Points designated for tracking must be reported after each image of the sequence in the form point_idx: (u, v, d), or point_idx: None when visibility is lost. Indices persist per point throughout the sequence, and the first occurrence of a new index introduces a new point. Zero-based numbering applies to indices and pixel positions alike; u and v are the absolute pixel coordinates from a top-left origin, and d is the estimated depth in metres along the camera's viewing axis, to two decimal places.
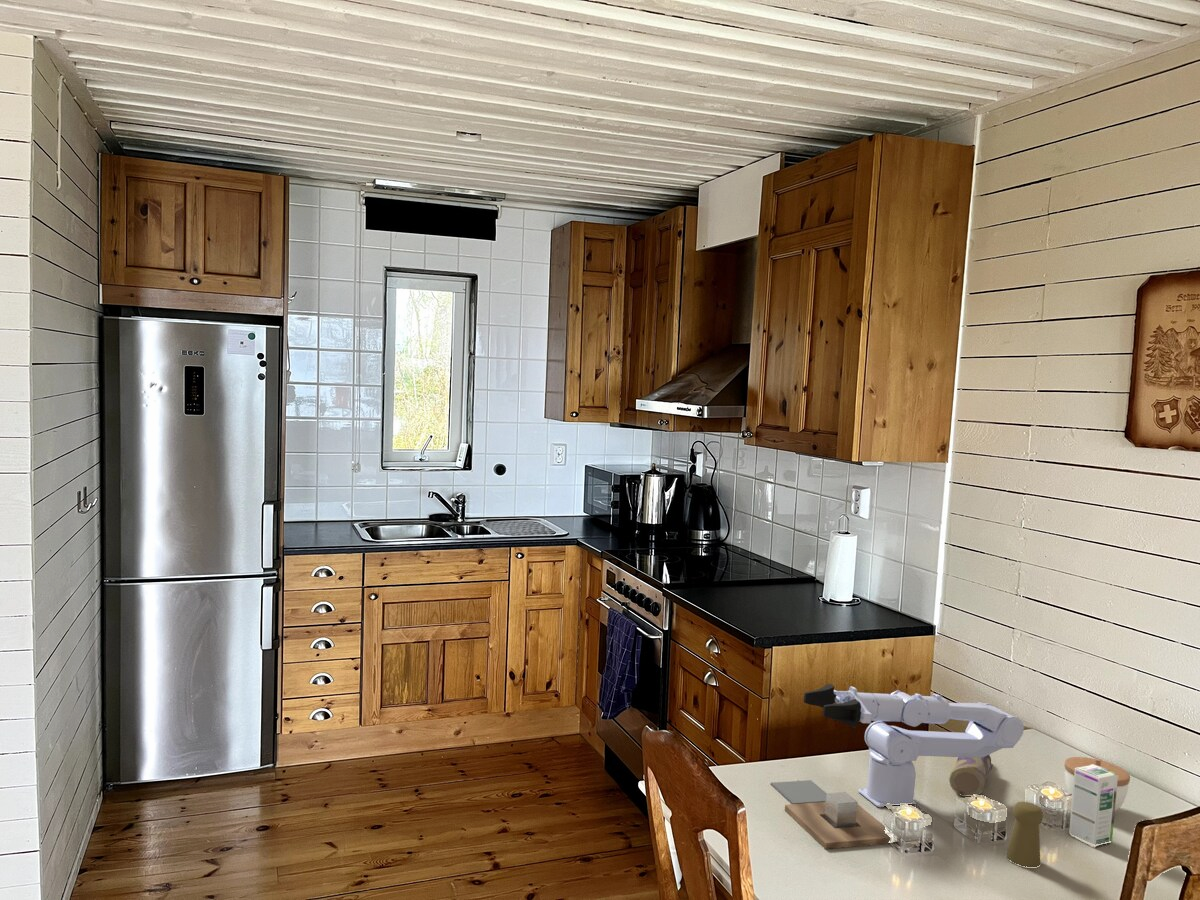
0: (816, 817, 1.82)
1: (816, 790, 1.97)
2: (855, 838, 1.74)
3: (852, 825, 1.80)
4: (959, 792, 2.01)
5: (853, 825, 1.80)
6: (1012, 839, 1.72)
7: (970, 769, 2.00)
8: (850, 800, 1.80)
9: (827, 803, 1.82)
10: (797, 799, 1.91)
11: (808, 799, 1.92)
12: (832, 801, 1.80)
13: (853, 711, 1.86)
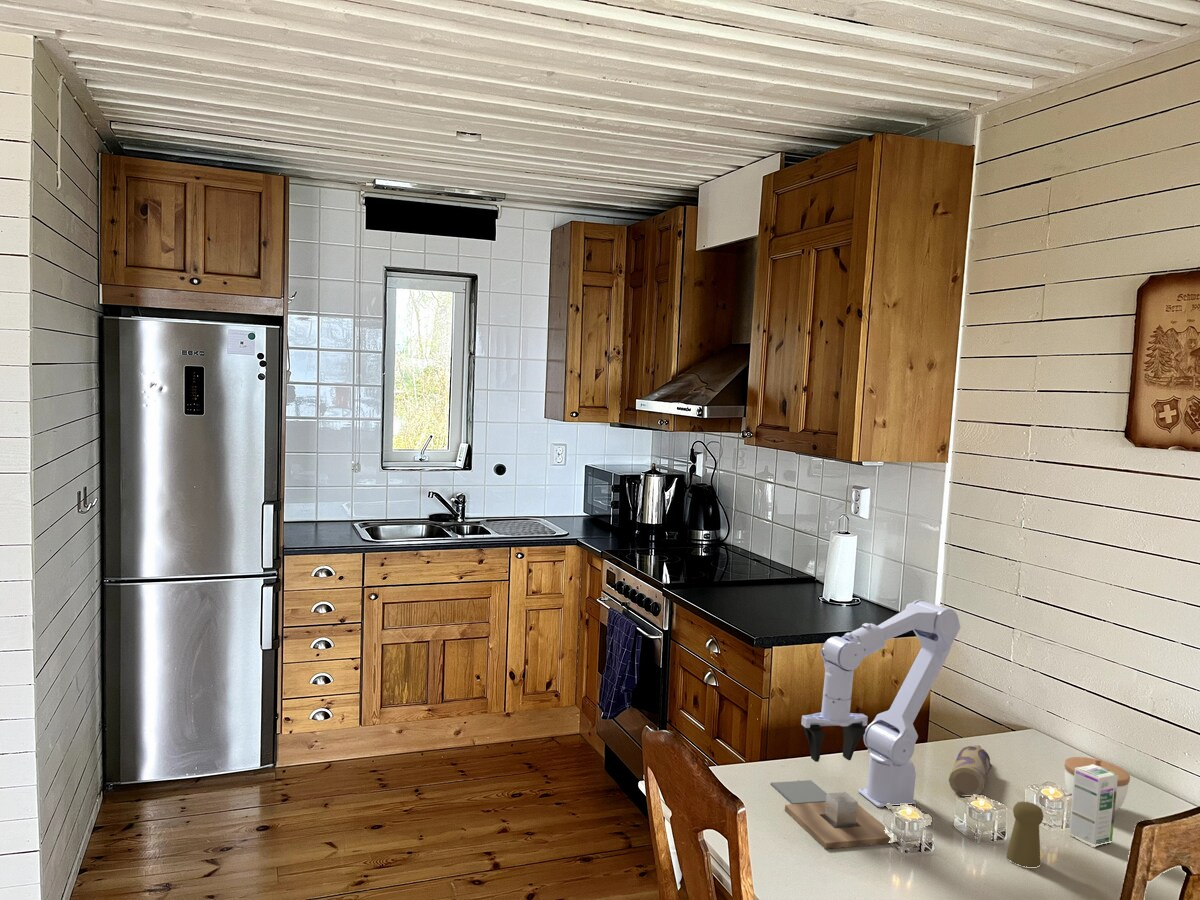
0: (816, 817, 1.82)
1: (816, 790, 1.97)
2: (855, 838, 1.74)
3: (852, 825, 1.80)
4: (958, 792, 2.00)
5: (853, 825, 1.80)
6: (1012, 839, 1.72)
7: (970, 769, 2.00)
8: (850, 800, 1.80)
9: (827, 803, 1.82)
10: (797, 799, 1.91)
11: (808, 799, 1.92)
12: (832, 801, 1.80)
13: None
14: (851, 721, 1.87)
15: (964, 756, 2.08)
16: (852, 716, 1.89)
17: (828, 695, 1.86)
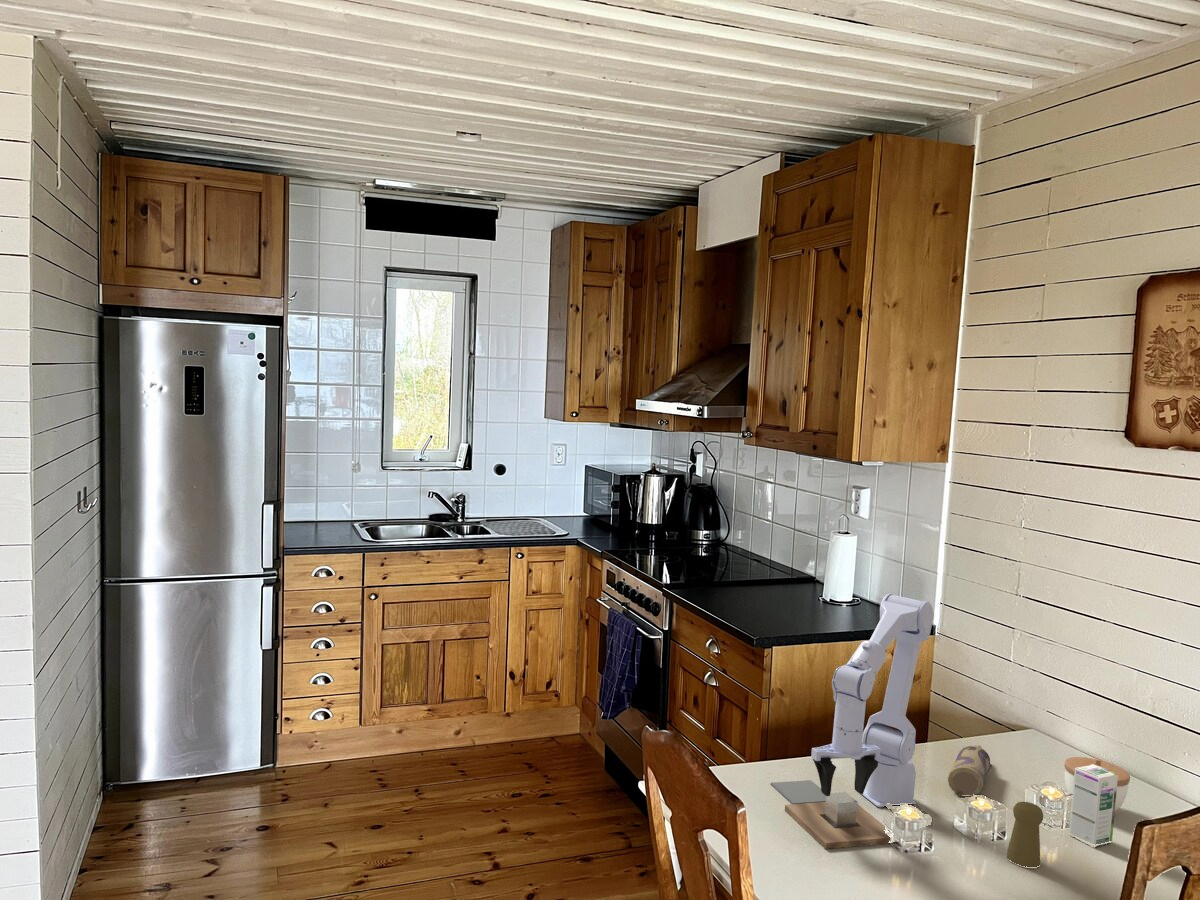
0: (816, 817, 1.82)
1: (816, 790, 1.97)
2: (855, 838, 1.74)
3: (852, 825, 1.80)
4: (957, 792, 2.01)
5: (853, 825, 1.80)
6: (1012, 839, 1.72)
7: (969, 769, 2.00)
8: (850, 800, 1.80)
9: (827, 803, 1.82)
10: (797, 799, 1.91)
11: (808, 799, 1.92)
12: (832, 801, 1.80)
13: None
14: (863, 753, 1.79)
15: (964, 756, 2.08)
16: (864, 748, 1.81)
17: (844, 728, 1.77)
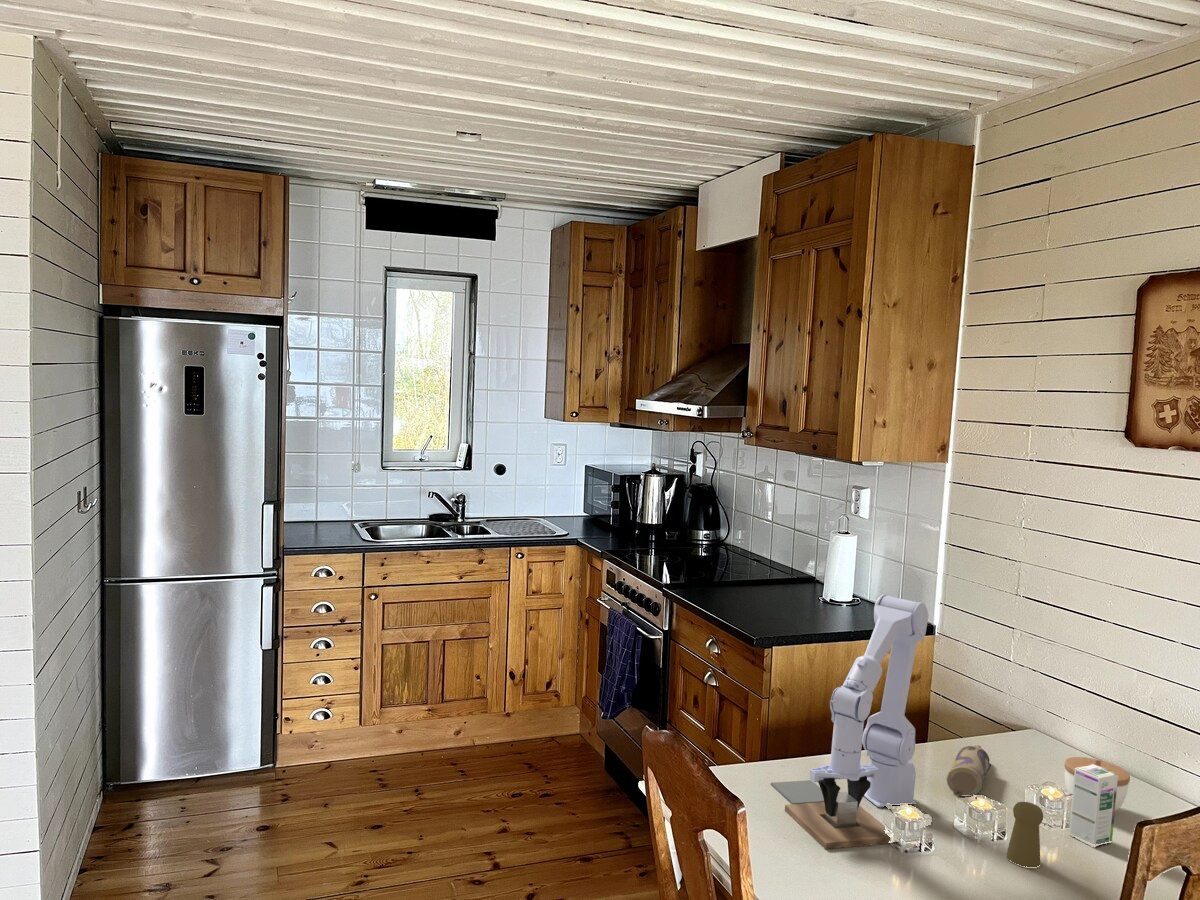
0: (816, 817, 1.82)
1: (816, 790, 1.97)
2: (855, 838, 1.74)
3: (852, 825, 1.79)
4: (956, 792, 2.01)
5: (853, 825, 1.80)
6: (1012, 839, 1.72)
7: (967, 769, 2.00)
8: (851, 799, 1.80)
9: None
10: (797, 799, 1.91)
11: (808, 799, 1.92)
12: None
13: None
14: (861, 774, 1.79)
15: (963, 756, 2.08)
16: (862, 768, 1.82)
17: (843, 749, 1.78)
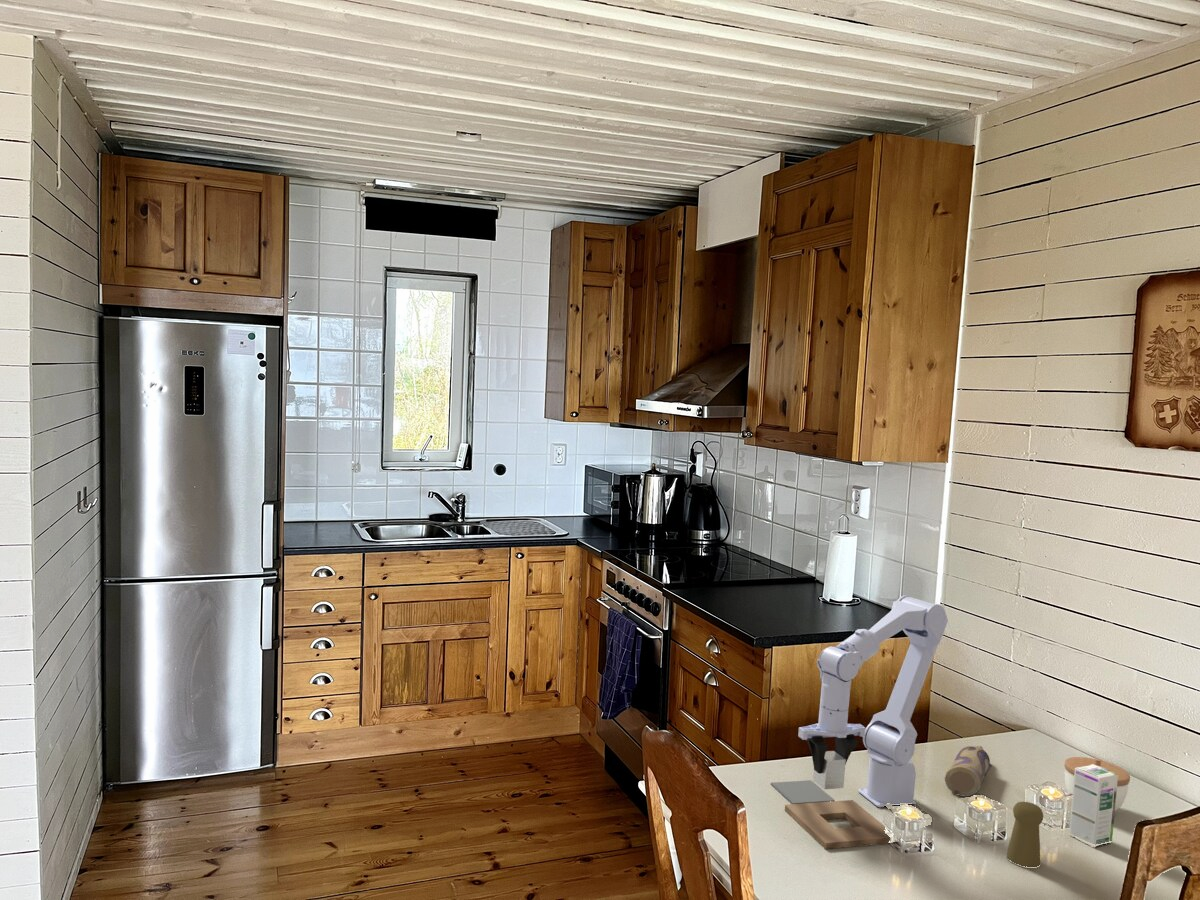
0: (816, 817, 1.82)
1: (816, 790, 1.97)
2: (855, 838, 1.74)
3: (840, 782, 1.84)
4: (954, 791, 2.01)
5: (841, 782, 1.84)
6: (1012, 839, 1.72)
7: (965, 769, 2.00)
8: (839, 757, 1.85)
9: None
10: (797, 799, 1.91)
11: (808, 799, 1.92)
12: None
13: None
14: (849, 732, 1.84)
15: (962, 756, 2.08)
16: (849, 727, 1.87)
17: (826, 707, 1.83)
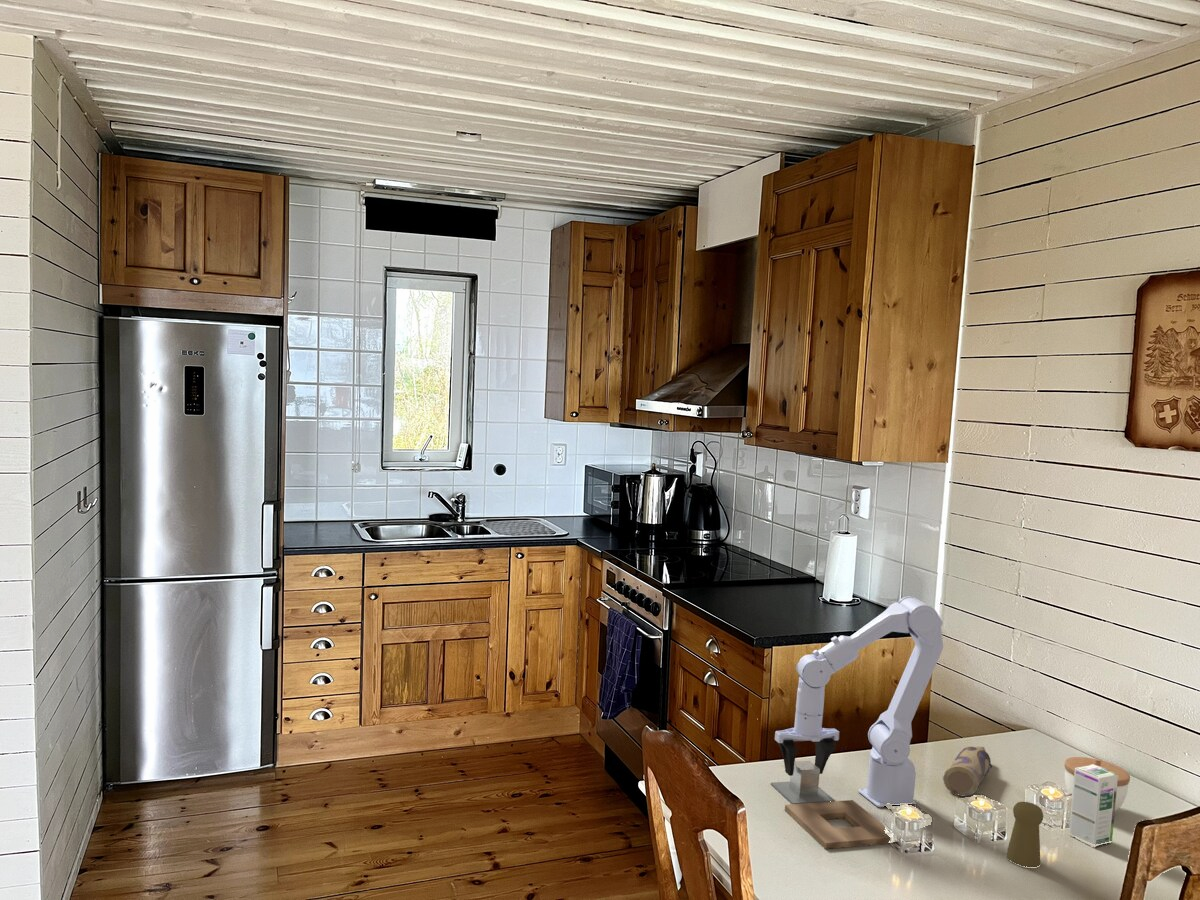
0: (816, 817, 1.82)
1: None
2: (855, 838, 1.74)
3: (815, 791, 1.93)
4: (953, 791, 2.01)
5: (816, 791, 1.93)
6: (1012, 839, 1.72)
7: (964, 768, 2.00)
8: (813, 767, 1.94)
9: None
10: (797, 799, 1.91)
11: (808, 799, 1.92)
12: (797, 769, 1.94)
13: None
14: (823, 736, 1.93)
15: (962, 756, 2.08)
16: (824, 731, 1.96)
17: (797, 709, 1.94)
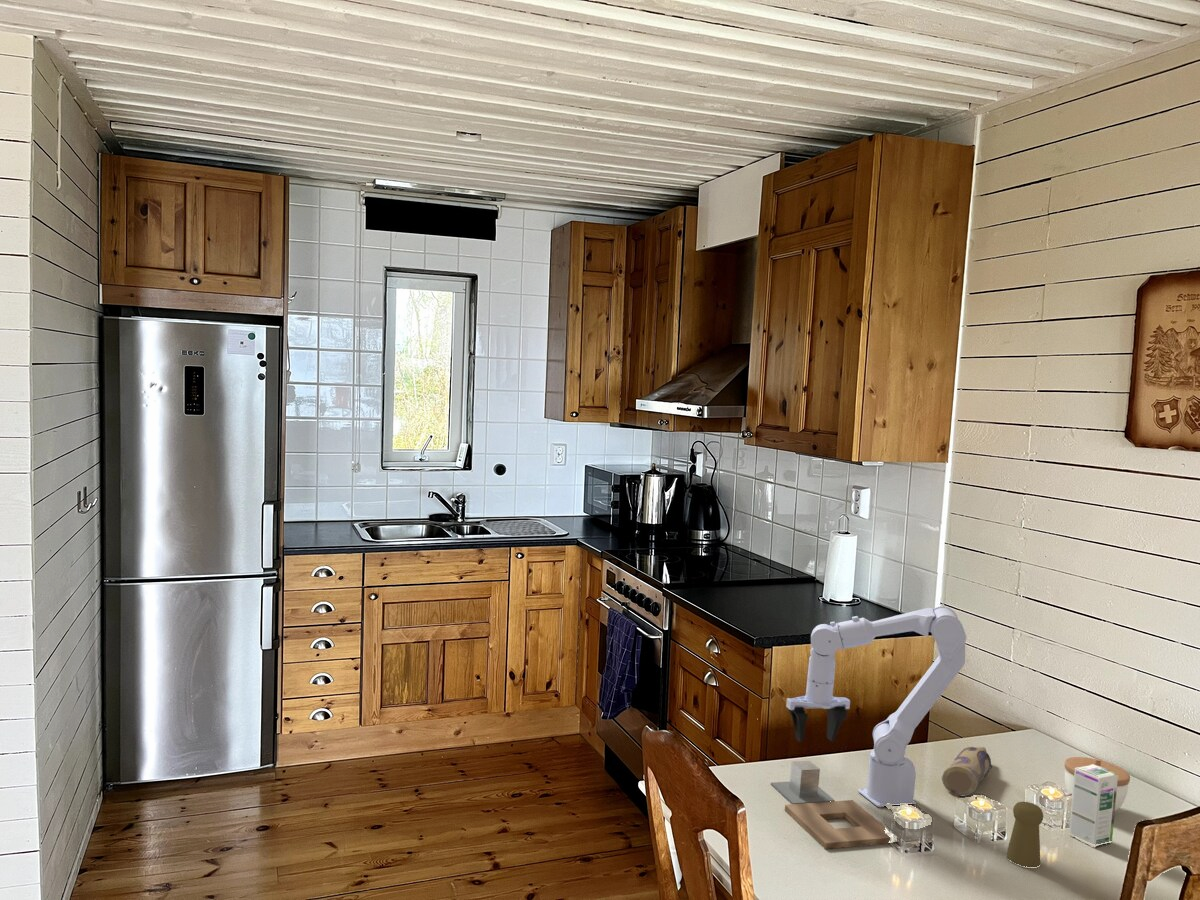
0: (816, 817, 1.82)
1: None
2: (855, 838, 1.74)
3: (815, 791, 1.93)
4: (951, 791, 2.01)
5: (816, 791, 1.93)
6: (1012, 839, 1.72)
7: (962, 768, 2.00)
8: (813, 767, 1.94)
9: (791, 771, 1.96)
10: (797, 799, 1.91)
11: (808, 799, 1.92)
12: (797, 769, 1.94)
13: None
14: (834, 704, 1.97)
15: (961, 756, 2.08)
16: (835, 699, 1.99)
17: (807, 676, 1.98)
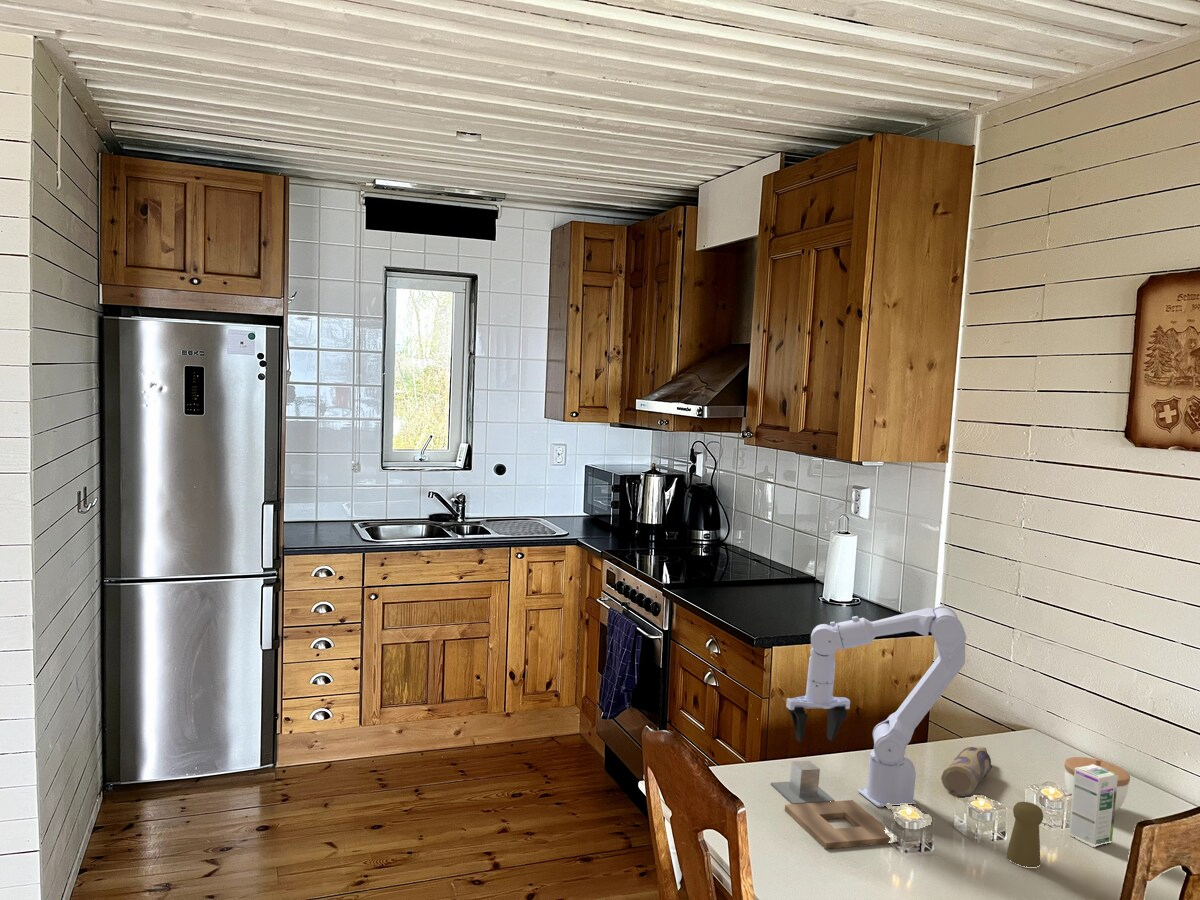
0: (816, 817, 1.82)
1: None
2: (855, 838, 1.74)
3: (815, 791, 1.93)
4: (951, 791, 2.01)
5: (816, 791, 1.93)
6: (1012, 839, 1.72)
7: (962, 768, 2.00)
8: (813, 767, 1.94)
9: (791, 771, 1.96)
10: (797, 799, 1.91)
11: (808, 799, 1.92)
12: (797, 769, 1.94)
13: None
14: (834, 704, 1.97)
15: (961, 756, 2.08)
16: (835, 699, 1.99)
17: (807, 676, 1.98)
